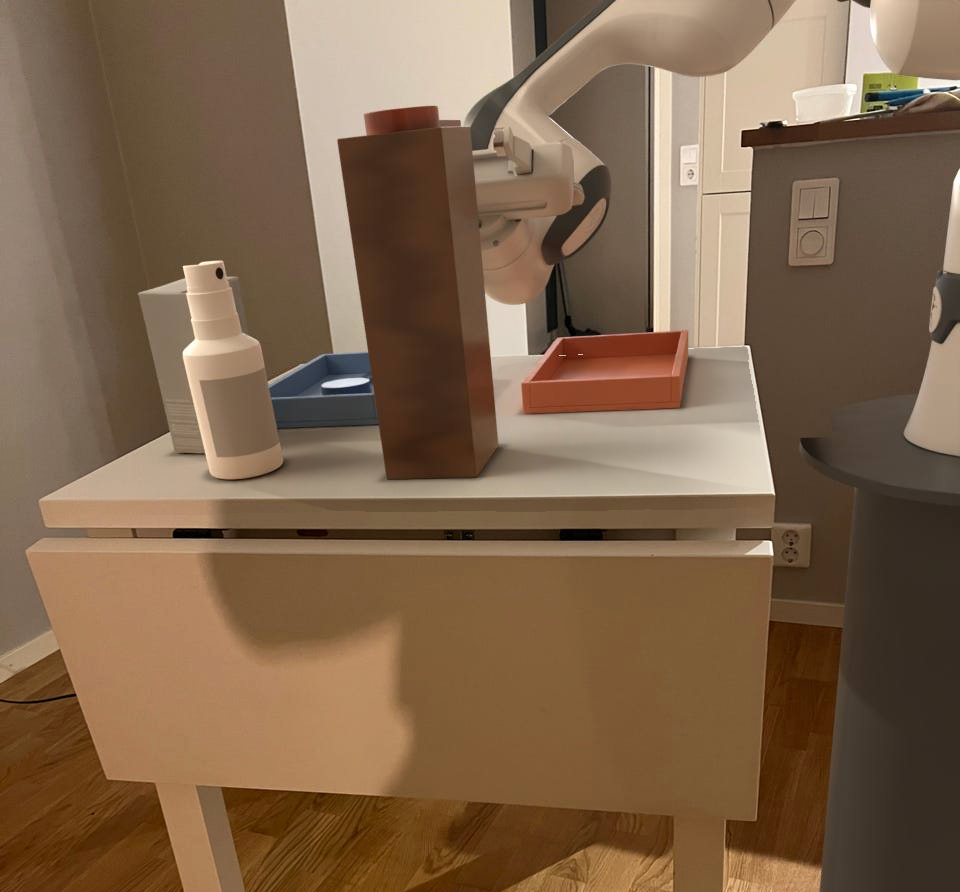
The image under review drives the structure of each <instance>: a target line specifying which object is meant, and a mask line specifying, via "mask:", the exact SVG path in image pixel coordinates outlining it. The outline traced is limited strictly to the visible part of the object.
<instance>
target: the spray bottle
mask: <svg viewBox="0 0 960 892" xmlns="http://www.w3.org/2000/svg"><path fill="white" fill-rule="evenodd" d="M182 268H183V269H182V270H183V273H184V278H186V283H187V292H188V293H186V295H187V300H188V304H189V309H190V313H191V317H192V319H191V322H192V326H193V331H194V335H195V340H194V341H193V342H192V343H191V344H190V345H189V346H188V347H187V348H186V349H185V350H184V351H183V360H184V364H185V369H186V373H187V377H188V381H189V386H190V390H191V394H192V398H193V403H194V407H195V411H196V416H197V420H198V424H199V428H200V433H201V437H202V441H203V445H204V450H205V453H204V455H205V458H206V463H207V467H208V471H209V474H210V475H211V476H212V477H213V478H215V479H220V480H243V479H244V480H245V479H250V478H255V477H256V478H257V477H258V476H259V477H260V476H263V475H267V474H268V473H272V472H274V471H275V470H277V469H278V468H280V467H282V465H283V462H284V457H283V453H282V446H281V442H280V437H279V432H278V428H277V426H276V421H275V416H274V411H273V406H272V401H271V396H270V391H269V381H268V376H267V371H266V366H265V361H264V355H263V350H262V345H261V343H260V341H259V340H258V339H256V338H254V337H252V336H250V335H249V334H248V335H249V336H248V335H246V334H244V333H242V331H241V326H240V321H239V317H238V313H237V312H236V307H235V302H234V297H233V292H232V288H231V287H230V286H229V282H228V281H227V277H228V276H227V272H226V268H225V262H224V261H223V260H208V261H201V262H200V263H198V264H189V265H183V266H182Z"/></svg>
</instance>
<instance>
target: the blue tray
mask: <svg viewBox="0 0 960 892" xmlns="http://www.w3.org/2000/svg"><path fill="white" fill-rule="evenodd" d="M369 372H371V368H370V362H369V355H368V351H355V352H354V351H353V352H338V353H337V352H336V353H322V354H320V355H318V356H317V357H315V358H313V359H311V360H309V361H307V362H306V363H304V364H303V365H301V366H299V367H297V368H295V369H294V370H292V371H290V372H289V373H286V374H285V375H283V376H281V377H280V378H278V379H276V380H274V381H273V382H270V383H268V385H269V391H270V396H271V401H272V406H273V411H274V416H275V421H276V426H277V429H290V428H293V429H294V428H313V427H314V428H315V427H316V428H317V427H320V428H321V427H346V426H369V425H370V426H372V425H379V423H378V416H377V409H376V403H375V396H374V389H373V382H372V383H371V384H370V385H371V393H364V394H342V395H322V390H321V385H322V384H324V383H326V382H330V381H334V380H339V379H347V378H360V377H362V376H364V375H366V374H367V373H369Z"/></svg>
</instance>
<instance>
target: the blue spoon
mask: <svg viewBox="0 0 960 892" xmlns="http://www.w3.org/2000/svg"><path fill="white" fill-rule="evenodd" d="M371 383H372V375H371V372H369V373H367V374H366V375H364V376H362V377H360V378H347V379H339V380H334V381H330V382H326V383H324V384H322V385H321V390H322V395H342V394H364V393H371V385H370V384H371Z"/></svg>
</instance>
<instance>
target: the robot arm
mask: <svg viewBox="0 0 960 892" xmlns="http://www.w3.org/2000/svg"><path fill="white" fill-rule="evenodd" d="M796 1H797V0H602V1H601V2H600V3H599V4H597V5H596V6H594V7H593V8H592V9H591V10H590V11H589V12H588V13H586V14H585V15H584V16H583V17H582V18H581V19H580V20H579V21H577V22H576V23H575V24H574V25H573V26H572V27H571V28H569V29H568V30H567V31H566V32H565V33H563V34H562V35H561V36H560V37H559V38H557V40H555V41H554V42H553V43H552V44H551V45H550V46H548V47H547V48H546V49H545V50H543V52H541V54H539V55H538V56H537V57H536V58H534V60H533V61H531V62H530V63H529V64H528V65H527V66H526V67H524V68H523V69H521V71H519V72H518V73H517V74H516V75H515V76H513V77H512V78H511V79H509V80H507V81H505V82H504V83H503V84H500V85H499V86H498V87H496V88H494V89H493V90H491V91H490V92H488V93H487V94H485V95H484V96H482V97H481V98H480V99H479V100H478V101H477V102H476V103H475V104H474V105H473V106H472V107H471V108H470V110H469V111H468V112H467V114H466V116H465V118H464V120H463V123H462V124H461V127H463V126H469V127H470V130H471V141H472V153H473V164H474V175H475V186H476V197H477V209H478V220H479V231H480V242H481V254H482V265H483V276H484V287H485V295H486V296H487V297H489V298H491V299H492V300H494V301H495V302H498V303H500V304H504V305H509V306H519V305H524V304H527V303H529V302H532V301H533V300H535V299H536V298H537V297H538V296H540V295H541V293H542V292H543V291H544V289H546V287H547V285H548V283H549V280H550V278H551V274H552V271H553V269H554V267H555V265H557V264H560V263H561V262H564V261H567V260H568V259H570V258H572V257H574V256H575V255H576V254H577V253H579V252H580V251H581V250H583V248H585V247H586V246H587V245H588V244H589V242H590V241H591V240H592V239H593V238H594V237H595V235H596V234H597V233H598V232H599V230H601V228H602V226H603V224H604V222H605V220H606V218H607V215H608V211H609V209H610V208H609V207H610V202H611V194H612V177H611V171H610V168H609V167H608V166H607V165H605V163H603V162H602V160H600V158H598V157H597V155H595V154H594V153H592V151H591V150H589V149H588V148H587V147H586V146H585V145H583V144H582V143H581V142H580V141H579V140H577V139H576V138H574V137H573V136H572V135H571V134H570V133H569V132H567V131H566V130H565V129H564V128H563V127H561V126H560V125H559V124H558V123H557V122H556V121H554V120H553V119H552V118H551V117H550V115H552V114H553V113H554V112H555V111H556V110H557V109H558V108H559V107H560V106H562V105H563V104H564V103H566V102H567V100H569V99H570V98H571V97H572V96H574V95H575V94H576V93H577V92H578V91H580V89H582V88H583V87H584V86H585V85H586V84H588V83H589V82H590V81H591V80H592V79H594V77H596V76H597V75H598V74H599V73H601V72H602V71H604V70H606V69H608V68H611V67H615V66H618V65H638V66H645V67H650V68H655V69H659V70H663V71H666V72H669V73H671V74H675V75H679V76H683V77H689V78H707V77H708V78H709V77H713V76H718V75H722V74H724V73H726V72H729V71H730V70H732V69H733V68H734V67H736V66H737V65H739V64H740V63H741V62H742V61H744V60H745V58H747V57H748V56H749V55H750V54H751V53H752V52H753V51H754V50H755V49H756V48H757V47H758V46H759V44H760V43H761V42H762V41H763V40H764V39H765V38H766V36H768V35H769V33H771V31H772V30H773V29H774V28H775V26H776V25H777V24H778V23H779V22H780V20H782V18H783V17H784V16H785V14H786V13H787V12H788V11H789V10H790V8H791V7H792V6H793V5H794V3H795V2H796ZM851 1H853V2H854V3H856V4H857V5H860V6H861V7H863V8H867V9H869V25H870V33H871V38H872V41H873V45H874V47H875V49H876V52H877V53H878V55H879V58H880V59H881V61H882V62H883V64H884V66H885V67H886V68H888V69H889V71H890V72H891V73H892V74H894V75H895V76H896V75H898V76H905V77H913V78H922V79H932V80H943V81H944V80H945V81H960V0H851ZM836 2H838V3H844V2H849V0H836ZM928 330H929V337H930V339H931V343H930V349H929V352H928V356H927V357H928V358H927V362H926V366H925V369H924V370H925V371H924V374H923V379H922V381H921V384H920V388H919V392H918V394H919V395H918V398H917V401H916V403H915V406H914V409H913V412H912V414H911V417H910V419H909V421H908V424H907V426H906V428H905V430H904V436H905V438H906V439H907V440H908V441H910V442H911V443H913V444H915V445H917V446H920V447H922V448H925V449H928V450H931V451H935V452H939V453H944V454H949V455H954V456H960V168H959V169H958V171H957V172H956V175H955V177H954V180H953V183H952V192H951V199H950V208H949V216H948V224H947V232H946V240H945V249H944V258H943V266H942V267H941V268H940V269H939V270H937V273H936V279H935V285H934V287H933V289H932V298H931V305H930V314H929V326H928Z"/></svg>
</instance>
